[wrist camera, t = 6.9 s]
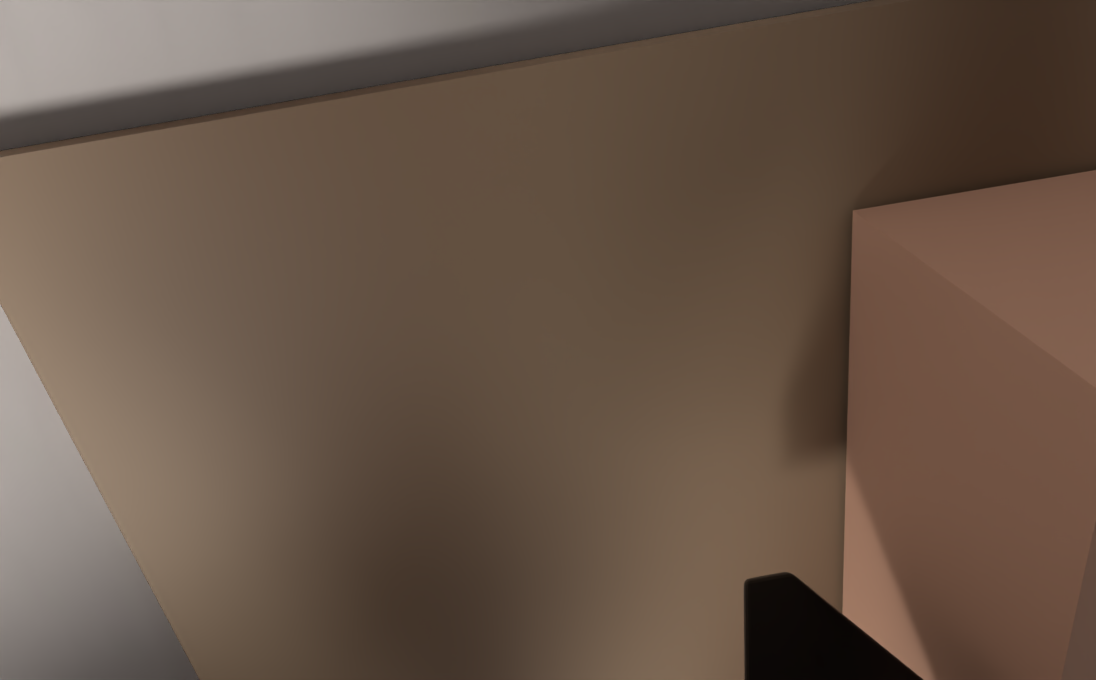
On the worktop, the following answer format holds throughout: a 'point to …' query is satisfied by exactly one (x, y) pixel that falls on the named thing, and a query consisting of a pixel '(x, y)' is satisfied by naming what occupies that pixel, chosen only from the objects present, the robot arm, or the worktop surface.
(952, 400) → the slider block
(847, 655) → the robot arm
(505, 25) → the worktop surface
